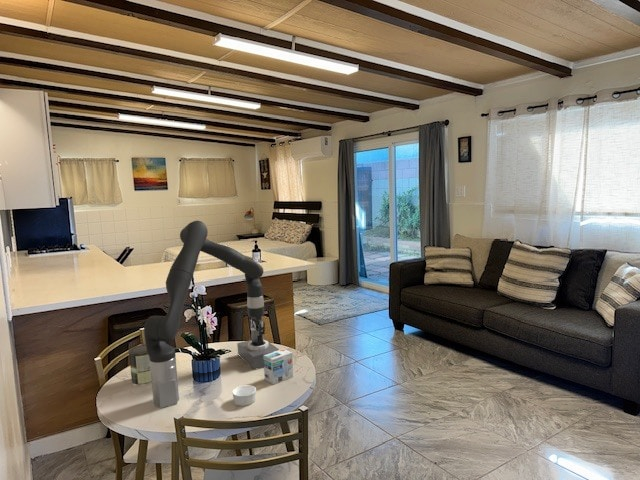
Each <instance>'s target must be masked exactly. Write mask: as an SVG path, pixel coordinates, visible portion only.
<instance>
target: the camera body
mask: <svg viewBox="0 0 640 480" xmlns="http://www.w3.org/2000/svg"><path fill="white" fill-rule="evenodd" d="M236 345H237V355H238V354H239V355H240V356H241V357H242V358H243V359H244V360H245V361H246V362H247V363H248V364H249V365H250V366H251V368H252V369H253V370H254V369H255V370H257V369H256V368H259V369H261V368H260V367H262V368H264V356H263V355H266V354H269V353H272V352H275V351H278V350H280V349H279V348H278V347H277V346H275V345H274V344H272V343H271V342H270V341H268V340H267V339H265V338H264V344H263V345H261V346H253V345H252V339H249V340H246V341H240V342H237V343H236ZM240 356H239V357H240ZM241 357H240V358H241ZM242 358H241V359H242ZM243 359H242V360H243ZM244 360H243V361H244ZM245 361H244V362H245ZM246 362H245V363H246ZM247 363H246V364H247ZM248 364H247V365H248ZM249 365H248V366H249ZM250 366H249V367H250Z"/></svg>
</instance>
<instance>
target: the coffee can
mask: <svg viewBox="0 0 640 480" xmlns="http://www.w3.org/2000/svg"><path fill="white" fill-rule="evenodd" d="M128 355H129V366H130V375H131V384H132V386H135V387H142V386H143V387H144V386H147V385H152V381H151V370H150V359H149V355H148V353H147V349H146V343H145V344H140V345H136V346H133V347H131V348H130V349H129V350H128Z"/></svg>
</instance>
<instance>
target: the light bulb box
mask: <svg viewBox="0 0 640 480" xmlns="http://www.w3.org/2000/svg"><path fill="white" fill-rule="evenodd" d="M263 356H264V367H263V371H264V372H263V374H264V380H265V381H267V382H268V383H269V384H271V385H276V384H278V383H280V382H283V381H286V380H288V379H289V380H290V379H292V378H294V366H293V365H294V364H293V363H294V362H293V352H292V351H289V350H287V349H286V348H281V349H279V350H278V351H275V352H272V353H269V354H266V355H263Z"/></svg>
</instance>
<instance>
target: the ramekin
mask: <svg viewBox="0 0 640 480" xmlns="http://www.w3.org/2000/svg"><path fill="white" fill-rule="evenodd" d="M231 393H232V398H233V403H234V404H235V405H236V406H238V407H246V406H249V405H252V404H254V402H256V394H257V388H256V386H253V385H251V384H250V385H249V384H245V385H239V386H237V387H236V386H235V388H234V389H233V390H232V391H231Z"/></svg>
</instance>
